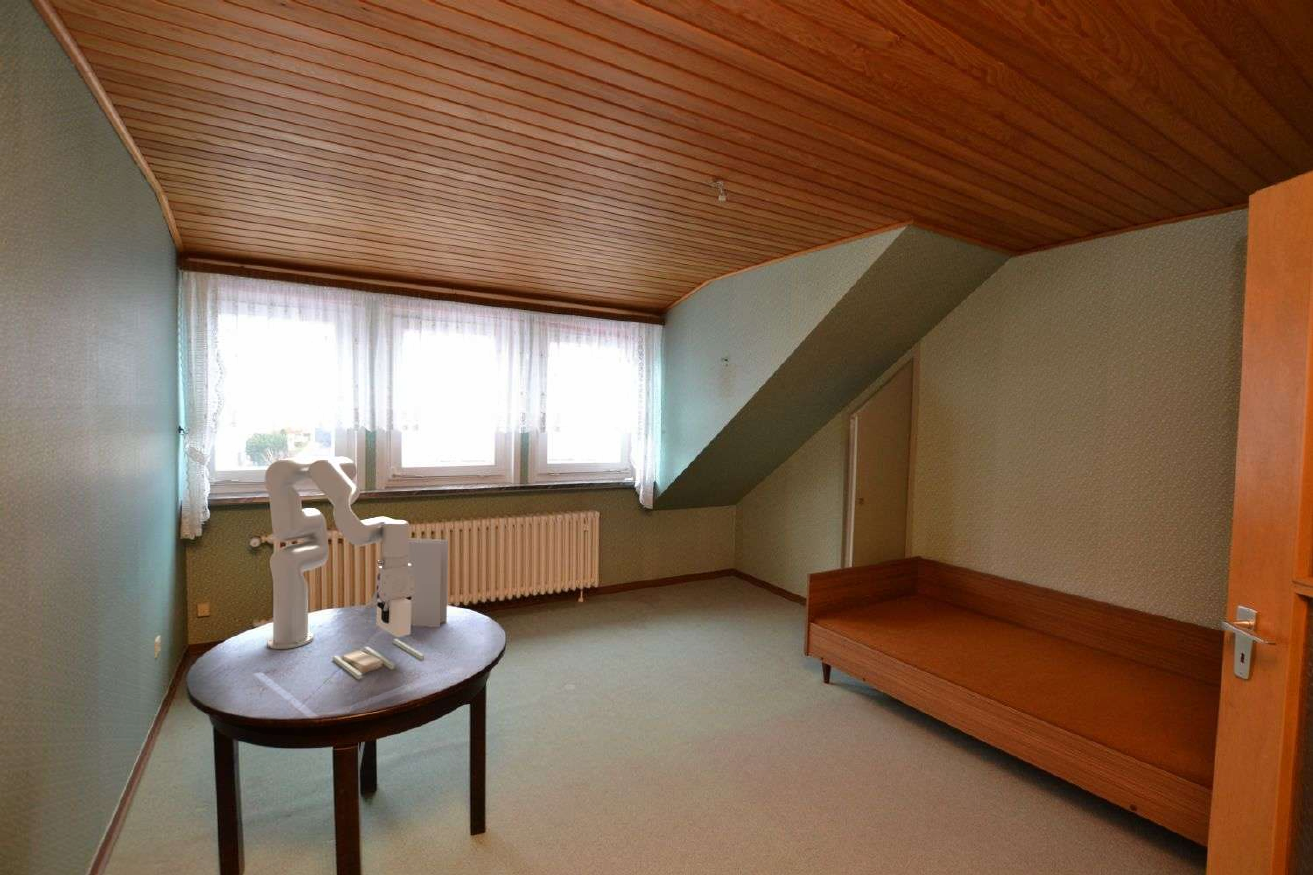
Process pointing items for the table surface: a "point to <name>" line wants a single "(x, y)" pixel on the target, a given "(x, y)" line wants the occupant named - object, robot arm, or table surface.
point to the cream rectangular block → (396, 617)
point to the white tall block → (429, 581)
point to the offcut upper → (362, 661)
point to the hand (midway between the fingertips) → (393, 619)
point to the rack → (375, 654)
